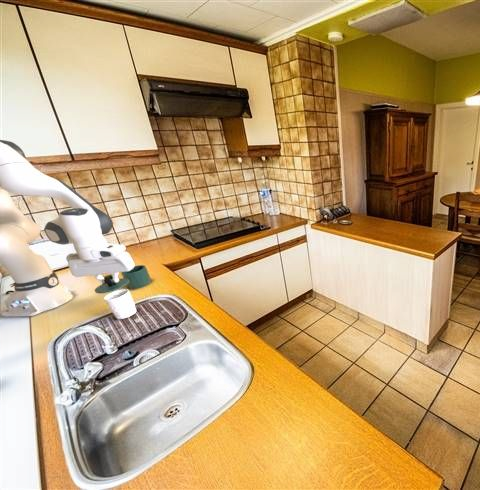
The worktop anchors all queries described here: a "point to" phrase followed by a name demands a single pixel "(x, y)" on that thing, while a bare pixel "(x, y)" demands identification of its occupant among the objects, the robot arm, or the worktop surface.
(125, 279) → the lid
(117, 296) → the white cup
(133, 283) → the pot
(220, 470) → the worktop surface
